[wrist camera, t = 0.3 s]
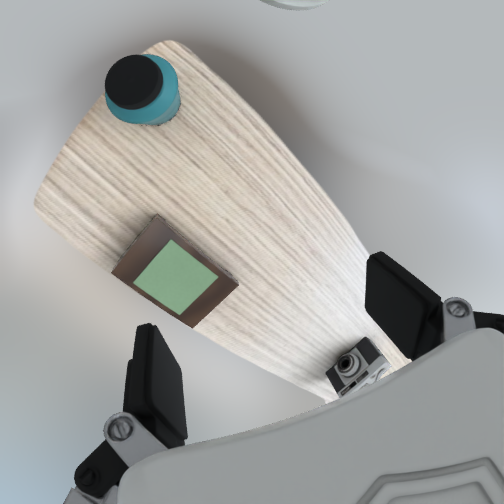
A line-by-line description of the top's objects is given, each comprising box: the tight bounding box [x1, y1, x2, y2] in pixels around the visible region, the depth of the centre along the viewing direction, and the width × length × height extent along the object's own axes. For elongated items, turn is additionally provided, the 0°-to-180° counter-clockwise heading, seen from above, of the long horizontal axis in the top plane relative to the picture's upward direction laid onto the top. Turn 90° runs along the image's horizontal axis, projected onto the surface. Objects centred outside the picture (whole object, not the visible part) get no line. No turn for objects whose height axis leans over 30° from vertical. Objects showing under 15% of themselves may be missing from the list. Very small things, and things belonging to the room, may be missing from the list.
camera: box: [326, 337, 391, 398], centre depth 58 cm, size 14×8×10 cm, turn 138°
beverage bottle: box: [105, 54, 181, 126], centre depth 23 cm, size 6×7×20 cm
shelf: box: [111, 214, 239, 328], centre depth 41 cm, size 16×11×4 cm
